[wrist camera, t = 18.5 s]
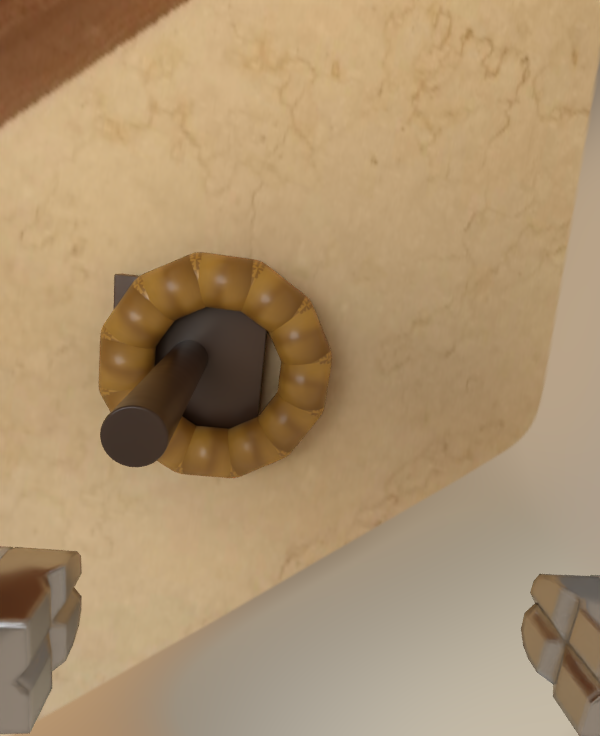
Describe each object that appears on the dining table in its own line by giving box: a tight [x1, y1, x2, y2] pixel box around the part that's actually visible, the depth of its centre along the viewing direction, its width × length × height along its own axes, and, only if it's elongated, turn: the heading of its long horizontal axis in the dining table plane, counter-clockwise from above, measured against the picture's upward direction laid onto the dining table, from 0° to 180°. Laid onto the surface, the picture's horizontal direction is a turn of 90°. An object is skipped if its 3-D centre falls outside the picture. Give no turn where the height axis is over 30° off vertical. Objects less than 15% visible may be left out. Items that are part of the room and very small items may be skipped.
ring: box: [99, 252, 332, 478], centre depth 23 cm, size 12×12×3 cm
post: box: [100, 274, 267, 467], centre depth 19 cm, size 8×8×12 cm
